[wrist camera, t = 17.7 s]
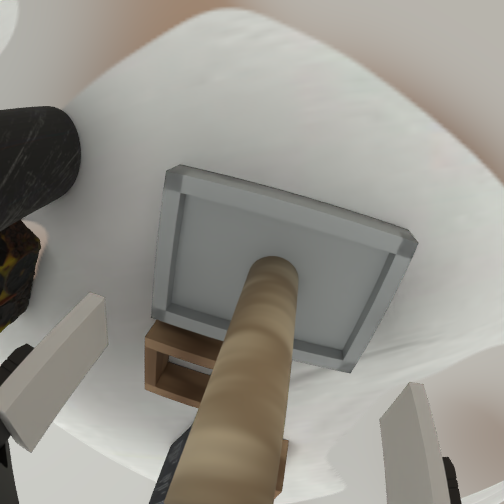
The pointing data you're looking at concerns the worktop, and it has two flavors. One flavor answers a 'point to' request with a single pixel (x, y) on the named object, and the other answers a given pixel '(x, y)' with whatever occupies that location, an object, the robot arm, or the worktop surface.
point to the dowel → (244, 398)
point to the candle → (16, 270)
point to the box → (169, 469)
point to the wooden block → (281, 468)
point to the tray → (281, 245)
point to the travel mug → (35, 160)
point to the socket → (174, 376)
